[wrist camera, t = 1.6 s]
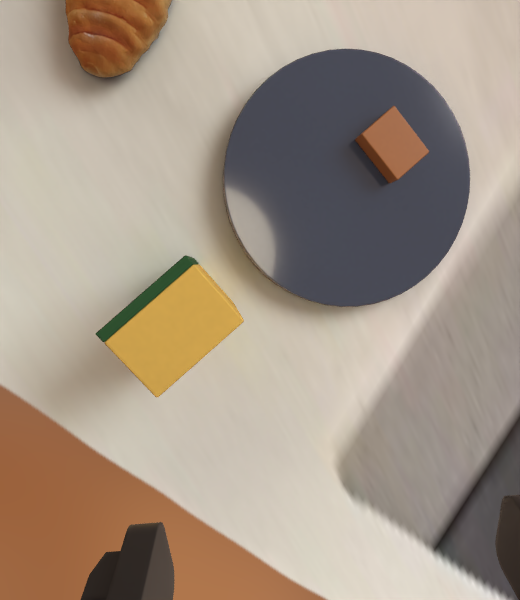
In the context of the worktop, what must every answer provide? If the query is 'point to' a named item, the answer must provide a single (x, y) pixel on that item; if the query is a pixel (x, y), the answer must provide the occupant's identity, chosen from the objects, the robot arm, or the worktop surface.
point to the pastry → (113, 32)
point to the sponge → (171, 325)
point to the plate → (343, 180)
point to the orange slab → (392, 145)
